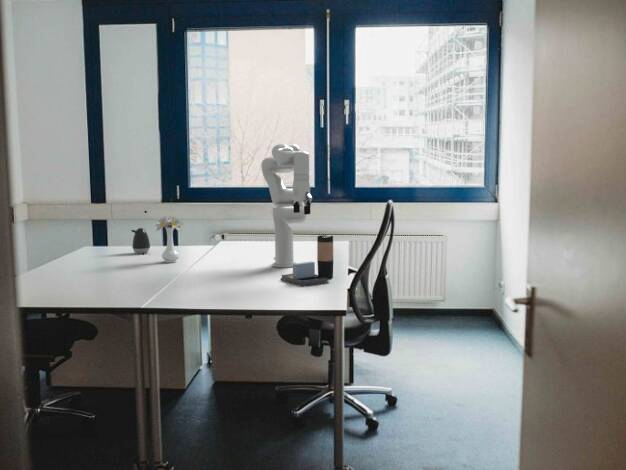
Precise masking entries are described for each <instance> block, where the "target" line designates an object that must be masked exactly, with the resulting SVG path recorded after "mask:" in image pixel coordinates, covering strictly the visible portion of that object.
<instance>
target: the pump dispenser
mask: <svg viewBox="0 0 626 470" xmlns="http://www.w3.org/2000/svg"><path fill="white" fill-rule="evenodd" d="M130 232H132V233H134V235H133V239H132V245H131V247H132V249H133V252H134V253H135V254H137V255H144V254H143V253H146V254H147V253H148V252H149V251H150V248H151V243H150V238H149V235H148V233H147V231H146V230H145V229H144V228H143V227H138V228H137V229H136V230H134V229H131V231H130Z"/></svg>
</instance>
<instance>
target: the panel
mask: <svg viewBox="0 0 626 470" xmlns="http://www.w3.org/2000/svg"><path fill="white" fill-rule="evenodd" d="M315 266H316V263H315V261H303V262H295V263H294V264H293V267H292V274H293V277H294V278H295V279H297V278H305V277H312V276H315V274H316V268H315Z"/></svg>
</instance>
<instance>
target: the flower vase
mask: <svg viewBox="0 0 626 470" xmlns="http://www.w3.org/2000/svg"><path fill="white" fill-rule="evenodd" d="M182 225H183V222H182V221H180V220H179V218H178V217H177V216H169V217H168V218H167V217H166V216H163V217H158V222H156V223H155V227H157V228H156V230H155V231H156V232H158V231H161V230H162V229H163V228H165V230H166V236H167V237H166V239H167V241H166V248H165V250H164V251H163V252H162V254H161V258H162V259H163V260H164V262H165V263H167V264H169V263H171V264H173V263H177V260H178V259H179V258H180V253H179V252H178V250H177V249H176V248H175V246H174V237H173V236H174V230H176V231H177V232H180V231H181V228H182V227H181V226H182Z"/></svg>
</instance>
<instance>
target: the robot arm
mask: <svg viewBox="0 0 626 470" xmlns="http://www.w3.org/2000/svg"><path fill="white" fill-rule="evenodd" d="M261 173H262V177H263V178H264V180H265V182H266V184H267V187H268V190H269V194H270V197H271V201H272V204H273V205H274V206H275V207H274V208H273V210H272V217H273V224H274V225H273V226H274V253H275V254H274V257H273V260H274V261H275V262H273V263H272V264H271V265H272V267H274V268H293V264H294V263H296V262H295V261H294V232H293V229H292V228H291V227H290V224H303V223H305V221H306V220H307V215H311V206H312V203H313V196H312V195H311V185H310V153H309V152H307V151H302V150H301V149H300V147H299V145H297V144H295V143H286V144H285V143H279V144H276V145H274V146H273V147H272V149H271V156H270V157H266V158H264V159H263V160H262V161H261ZM282 173H283V174H284V173H285V174H288V173H293V182H292V187H291V188H288V187H286V186H285V182H284V180H283V179H282V178H281V176H279V175H278V174H282Z"/></svg>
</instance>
